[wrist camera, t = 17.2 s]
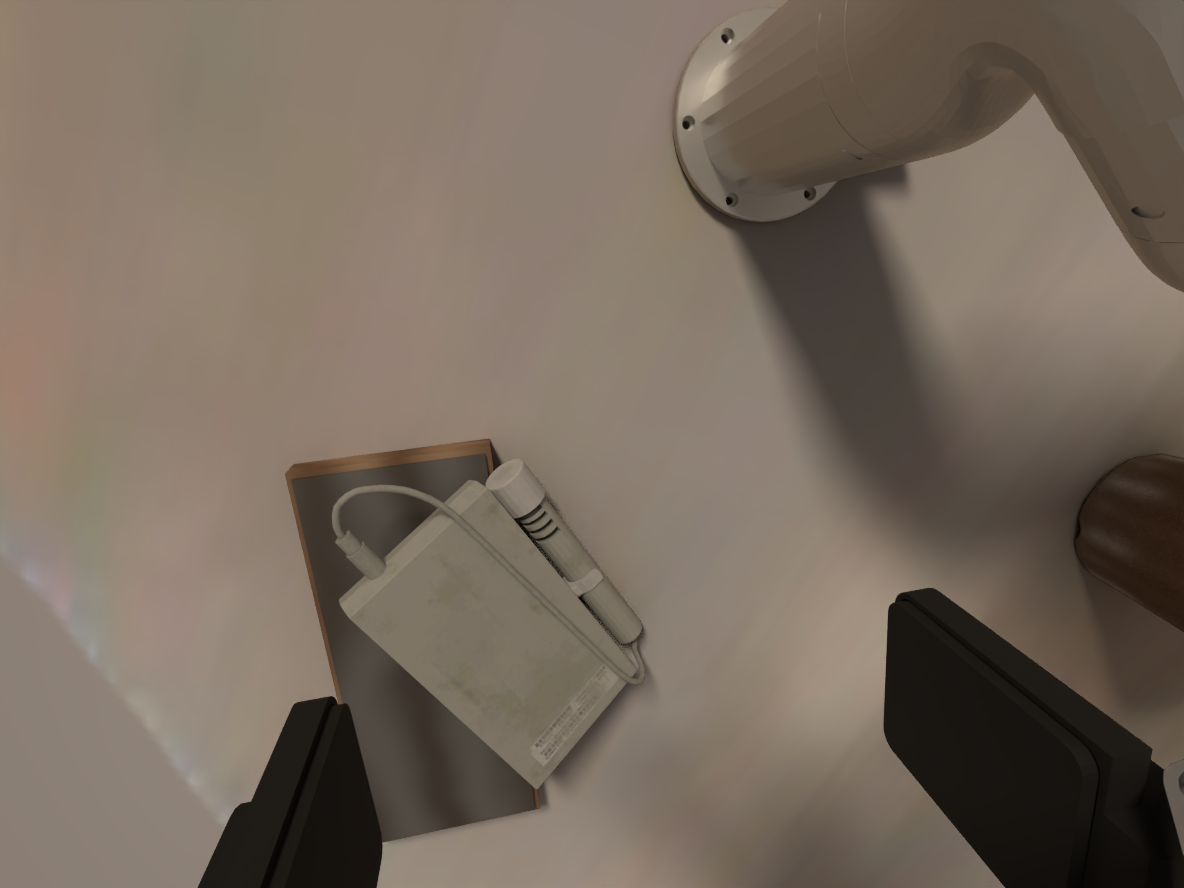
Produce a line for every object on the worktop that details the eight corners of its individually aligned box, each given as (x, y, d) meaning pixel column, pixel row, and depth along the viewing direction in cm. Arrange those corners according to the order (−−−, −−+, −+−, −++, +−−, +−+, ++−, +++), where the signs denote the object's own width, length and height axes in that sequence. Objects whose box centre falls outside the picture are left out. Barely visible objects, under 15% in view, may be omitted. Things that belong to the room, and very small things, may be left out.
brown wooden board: (489, 438, 45) (490, 448, 42) (537, 788, 53) (540, 812, 50) (293, 464, 43) (283, 475, 40) (375, 822, 51) (370, 849, 49)
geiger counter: (635, 621, 53) (451, 384, 42) (686, 652, 47) (489, 390, 36) (514, 761, 48) (271, 536, 37) (555, 812, 43) (285, 568, 32)
